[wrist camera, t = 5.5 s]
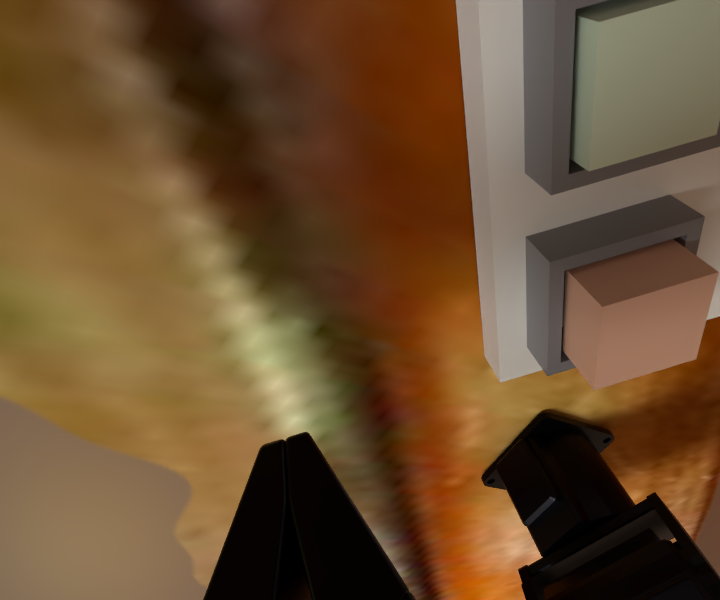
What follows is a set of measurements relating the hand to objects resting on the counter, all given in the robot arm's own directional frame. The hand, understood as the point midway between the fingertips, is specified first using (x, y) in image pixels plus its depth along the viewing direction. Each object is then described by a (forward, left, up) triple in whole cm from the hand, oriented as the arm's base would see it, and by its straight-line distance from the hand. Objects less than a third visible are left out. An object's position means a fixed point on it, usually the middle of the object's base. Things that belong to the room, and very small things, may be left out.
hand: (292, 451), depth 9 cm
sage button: (-9, -9, -11) cm, 17 cm away
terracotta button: (-15, -2, -9) cm, 18 cm away
